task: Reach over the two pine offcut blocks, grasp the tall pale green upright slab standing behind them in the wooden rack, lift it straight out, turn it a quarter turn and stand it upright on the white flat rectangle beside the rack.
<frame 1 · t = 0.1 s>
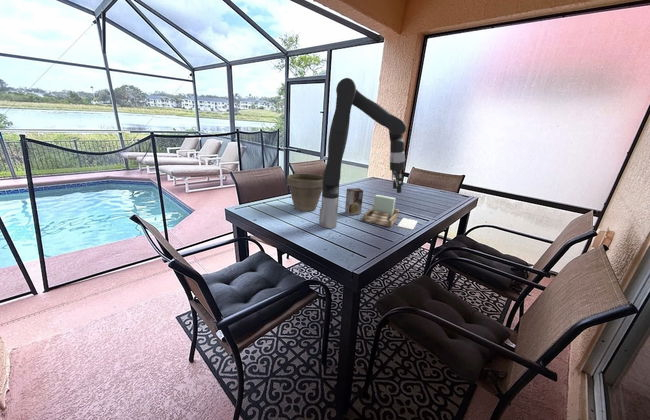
hand: (396, 190, 136), 22 cm above the table, tool pointing down, fingers open, 8 cm apart
plant pot: (305, 208, 169), on the table
pale green upright slab: (382, 217, 159), resting in rack
white flat rectangle: (407, 223, 152), on the table
back offcut: (380, 220, 156), resting in rack
coffee box: (352, 213, 165), on the table
rack: (380, 219, 157), on the table
front offcut: (378, 222, 153), resting in rack
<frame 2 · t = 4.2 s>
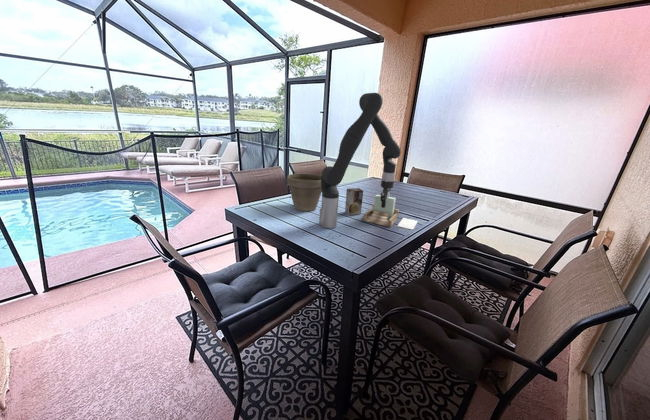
hand: (384, 206, 157), 8 cm above the table, tool pointing down, fingers closed on pale green upright slab, 4 cm apart
pale green upright slab: (382, 217, 159), resting in rack, touching gripper
everything else where it was.
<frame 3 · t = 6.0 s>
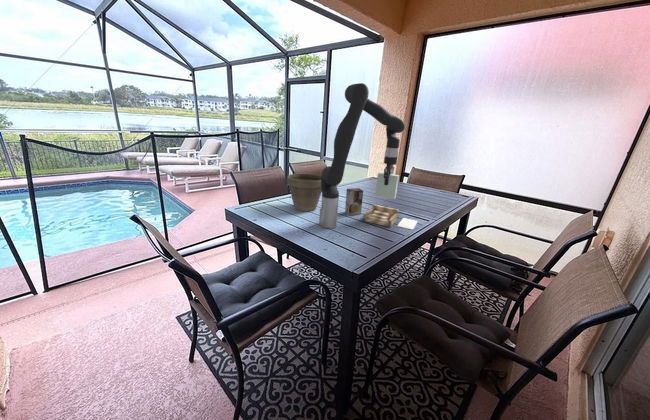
hand: (387, 184, 152), 22 cm above the table, tool pointing down, fingers closed on pale green upright slab, 4 cm apart
pale green upright slab: (385, 196, 155), point 14 cm above the table, touching gripper
everything else where it was.
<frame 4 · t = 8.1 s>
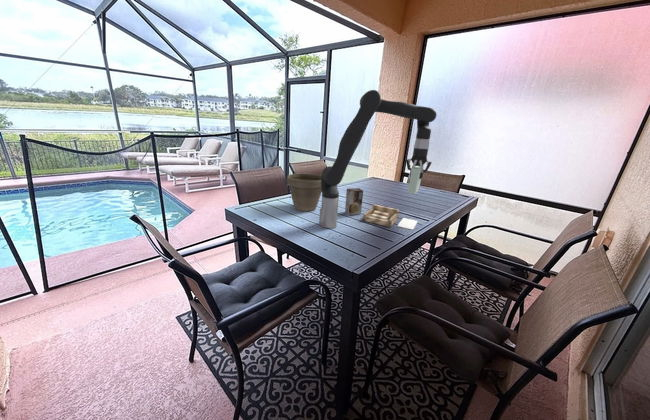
hand: (415, 178, 143), 28 cm above the table, tool pointing down, fingers closed on pale green upright slab, 4 cm apart
pale green upright slab: (413, 191, 145), point 20 cm above the table, touching gripper
everything else where it was.
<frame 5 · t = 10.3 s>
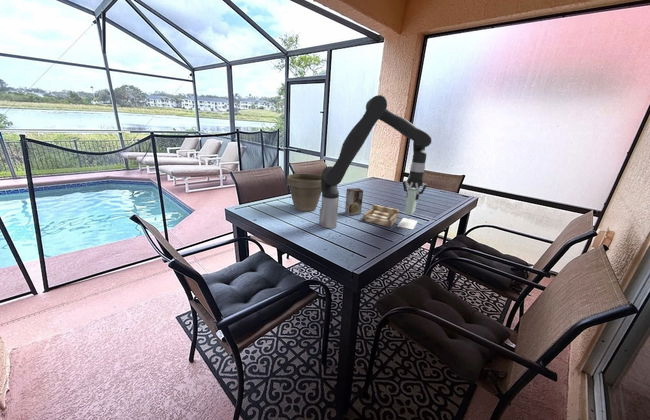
hand: (412, 199, 147), 16 cm above the table, tool pointing down, fingers closed on pale green upright slab, 4 cm apart
pale green upright slab: (409, 211, 149), point 8 cm above the table, touching gripper
everything else where it was.
when the fingers open (10 cm above the table, at t = 12.3 s): pale green upright slab drops 1 cm, resting on white flat rectangle.
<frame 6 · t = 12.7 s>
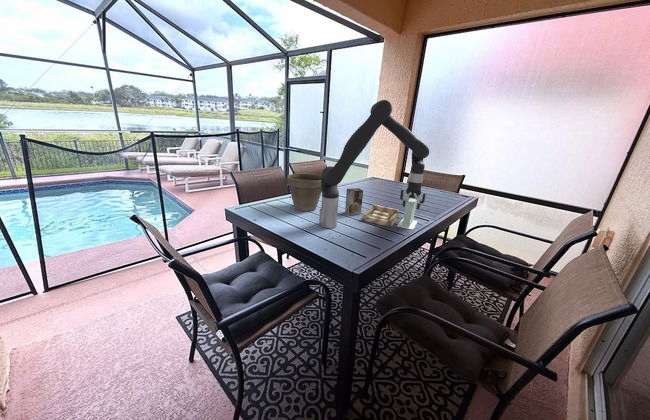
hand: (410, 208, 148), 10 cm above the table, tool pointing down, fingers open, 7 cm apart
pale green upright slab: (407, 223, 152), resting on white flat rectangle
everything else where it was.
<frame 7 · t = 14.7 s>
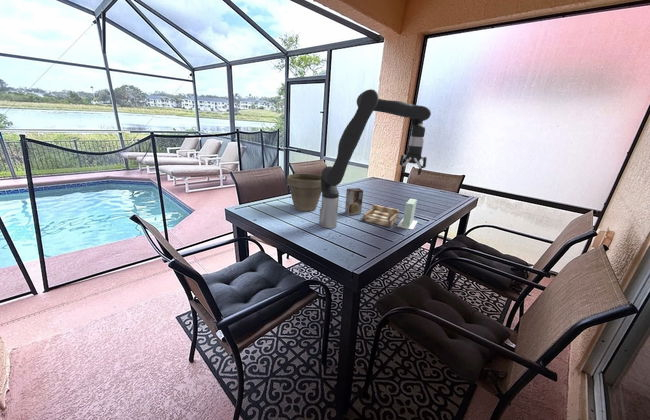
hand: (410, 173, 146), 30 cm above the table, tool pointing down, fingers open, 8 cm apart
nothing on the table moved.
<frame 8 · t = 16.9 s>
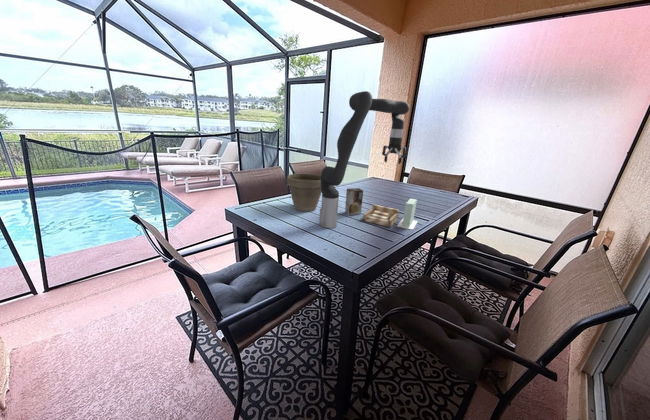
hand: (392, 163, 161), 33 cm above the table, tool pointing down, fingers open, 8 cm apart
nothing on the table moved.
at the end: pale green upright slab inside the target area (0.1 cm from its centre), resting on white flat rectangle; pale green upright slab tilted 0°; back offcut moved 0.2 cm from its start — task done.
